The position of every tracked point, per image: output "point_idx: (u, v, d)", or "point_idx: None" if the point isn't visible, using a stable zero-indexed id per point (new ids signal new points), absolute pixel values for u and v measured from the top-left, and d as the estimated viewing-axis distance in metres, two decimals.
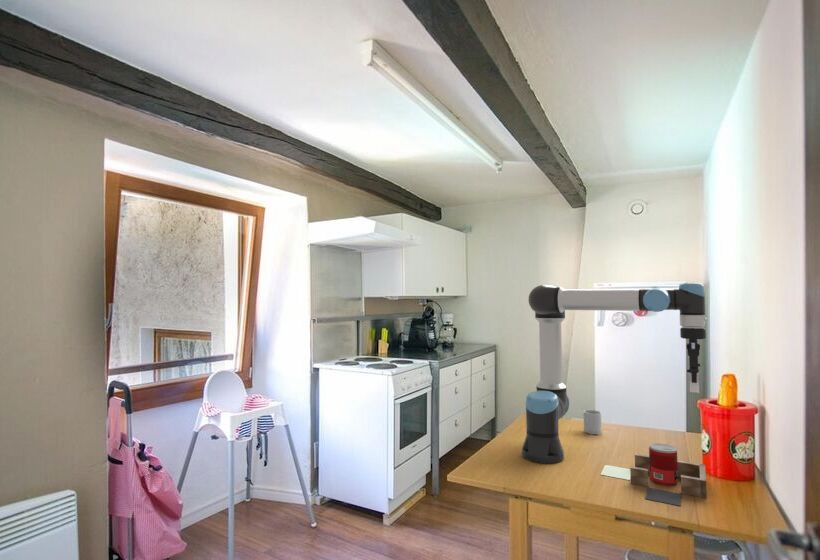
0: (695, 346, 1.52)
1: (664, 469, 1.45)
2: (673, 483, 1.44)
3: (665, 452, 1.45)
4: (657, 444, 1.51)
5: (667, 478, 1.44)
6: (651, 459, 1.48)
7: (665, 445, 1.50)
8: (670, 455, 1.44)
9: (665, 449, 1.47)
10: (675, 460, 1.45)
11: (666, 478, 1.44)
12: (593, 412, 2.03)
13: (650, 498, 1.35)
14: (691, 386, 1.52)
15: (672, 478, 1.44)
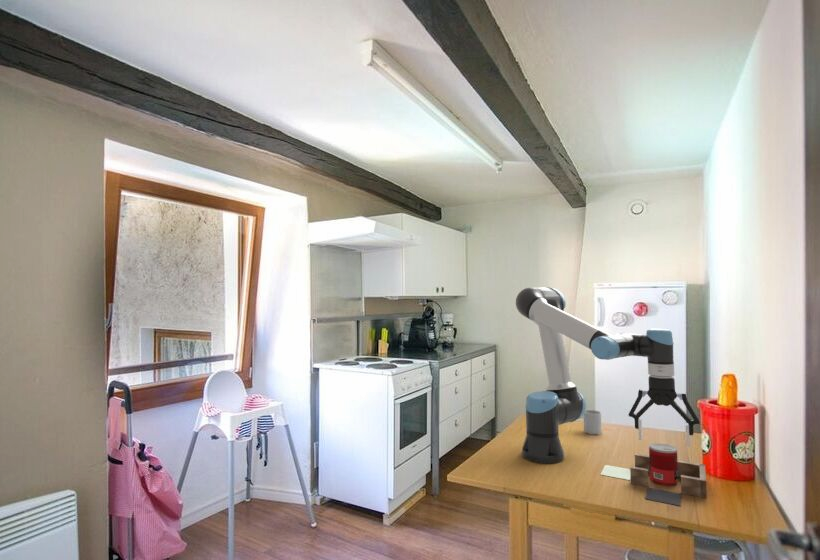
0: (638, 392, 1.52)
1: (664, 469, 1.45)
2: (673, 483, 1.44)
3: (665, 452, 1.45)
4: (657, 444, 1.51)
5: (667, 478, 1.44)
6: (651, 459, 1.48)
7: (665, 445, 1.50)
8: (670, 455, 1.44)
9: (665, 449, 1.47)
10: (675, 460, 1.45)
11: (666, 478, 1.44)
12: (593, 412, 2.03)
13: (650, 498, 1.35)
14: None
15: (672, 478, 1.44)
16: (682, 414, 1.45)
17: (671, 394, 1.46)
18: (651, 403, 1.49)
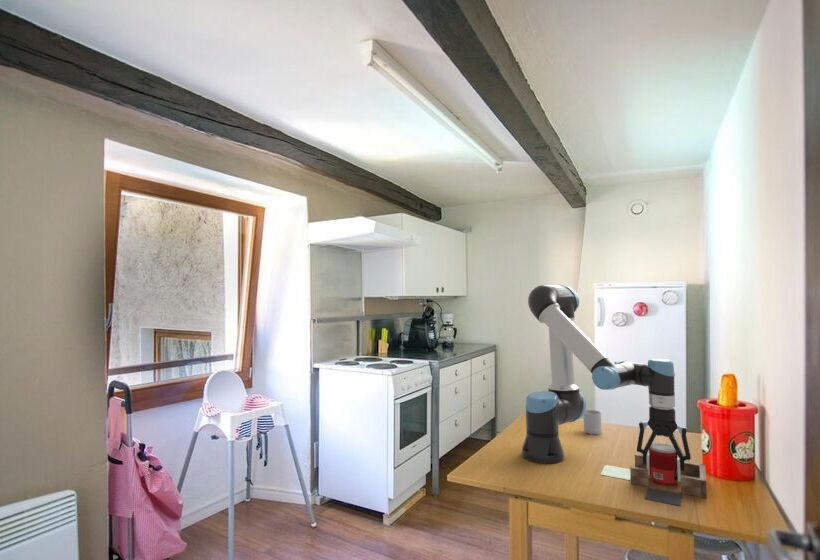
0: None
1: (664, 469, 1.45)
2: (673, 483, 1.44)
3: (665, 452, 1.45)
4: (657, 444, 1.51)
5: (667, 478, 1.44)
6: (651, 459, 1.48)
7: (665, 445, 1.50)
8: (670, 455, 1.44)
9: (665, 449, 1.47)
10: (675, 460, 1.45)
11: (666, 478, 1.44)
12: (593, 412, 2.03)
13: (650, 498, 1.35)
14: None
15: (672, 478, 1.44)
16: (676, 448, 1.45)
17: (672, 425, 1.46)
18: (654, 435, 1.48)
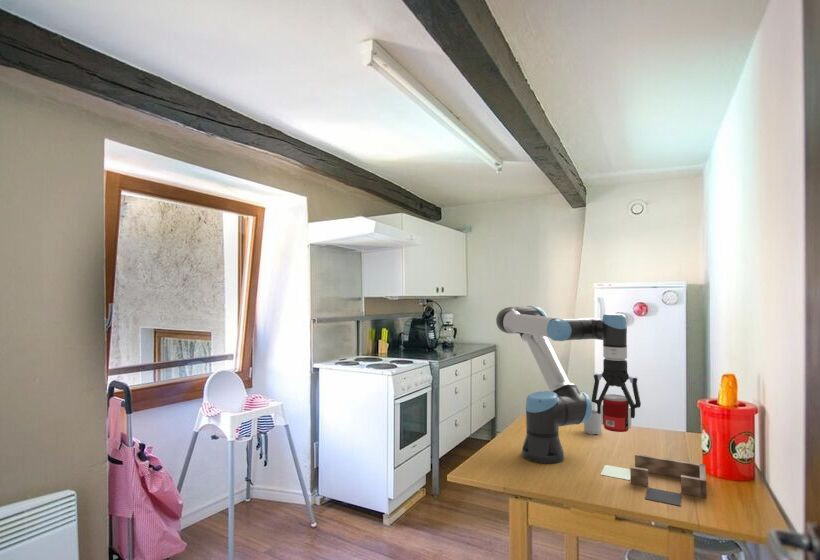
0: None
1: (615, 416, 1.53)
2: (624, 430, 1.52)
3: (617, 400, 1.53)
4: (611, 395, 1.59)
5: (618, 424, 1.52)
6: (604, 408, 1.56)
7: (618, 395, 1.58)
8: (621, 403, 1.52)
9: (617, 398, 1.55)
10: (626, 408, 1.53)
11: (617, 425, 1.52)
12: (593, 412, 2.03)
13: (650, 498, 1.35)
14: None
15: (623, 424, 1.52)
16: (627, 397, 1.53)
17: (624, 375, 1.54)
18: (607, 385, 1.56)
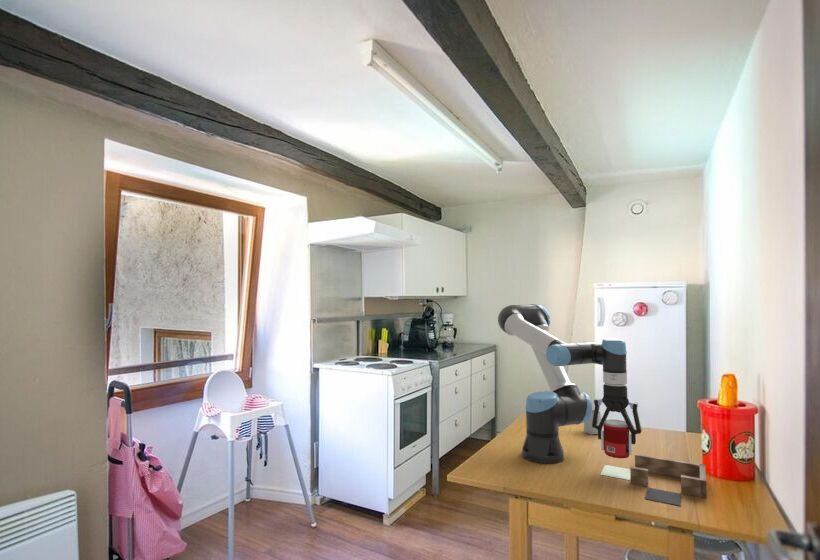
0: None
1: (616, 442, 1.52)
2: (625, 456, 1.52)
3: (617, 426, 1.52)
4: (611, 420, 1.59)
5: (619, 451, 1.52)
6: (605, 434, 1.55)
7: (619, 421, 1.58)
8: (621, 429, 1.52)
9: (618, 424, 1.55)
10: (627, 434, 1.52)
11: (617, 451, 1.52)
12: (593, 412, 2.03)
13: (650, 498, 1.35)
14: None
15: (624, 451, 1.52)
16: (628, 423, 1.53)
17: (624, 401, 1.54)
18: (607, 411, 1.56)
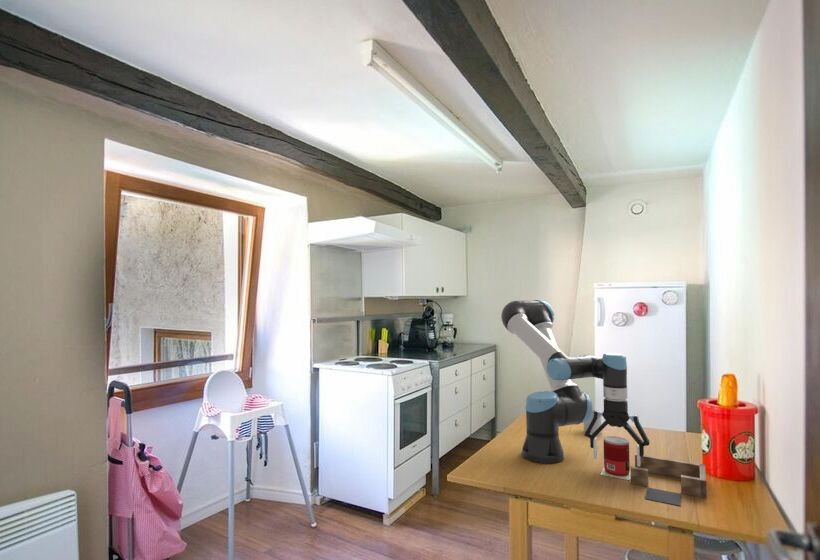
0: (594, 414, 1.59)
1: (616, 460, 1.52)
2: (624, 474, 1.52)
3: (617, 444, 1.52)
4: (611, 437, 1.59)
5: (619, 468, 1.52)
6: (605, 451, 1.55)
7: (619, 438, 1.58)
8: (621, 447, 1.52)
9: (618, 441, 1.55)
10: (627, 452, 1.52)
11: (617, 469, 1.52)
12: (593, 412, 2.03)
13: (650, 498, 1.35)
14: None
15: (624, 468, 1.52)
16: (633, 436, 1.52)
17: (624, 416, 1.54)
18: (605, 424, 1.56)
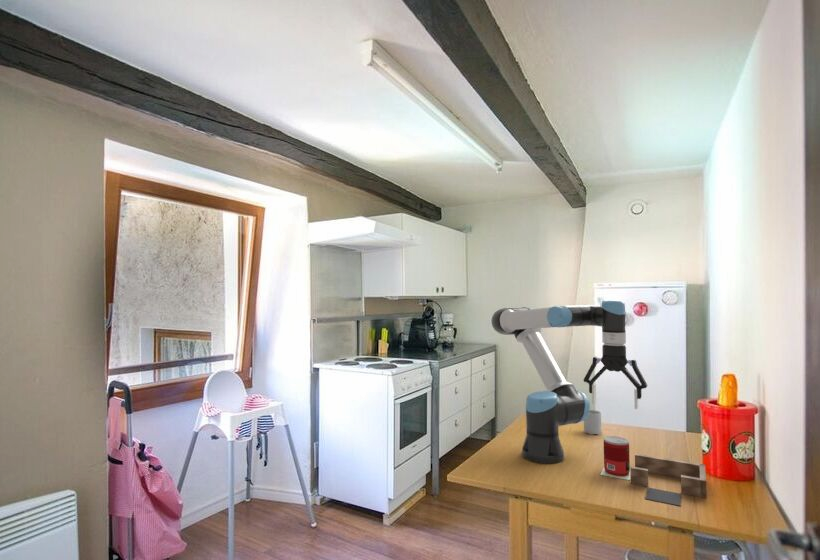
0: None
1: (616, 460, 1.52)
2: (624, 474, 1.52)
3: (617, 444, 1.52)
4: (611, 437, 1.59)
5: (619, 468, 1.52)
6: (605, 451, 1.55)
7: (619, 438, 1.58)
8: (621, 447, 1.52)
9: (618, 441, 1.54)
10: (627, 452, 1.52)
11: (617, 469, 1.52)
12: (593, 412, 2.03)
13: (650, 498, 1.35)
14: None
15: (624, 469, 1.52)
16: (631, 379, 1.55)
17: (622, 361, 1.56)
18: (604, 369, 1.59)
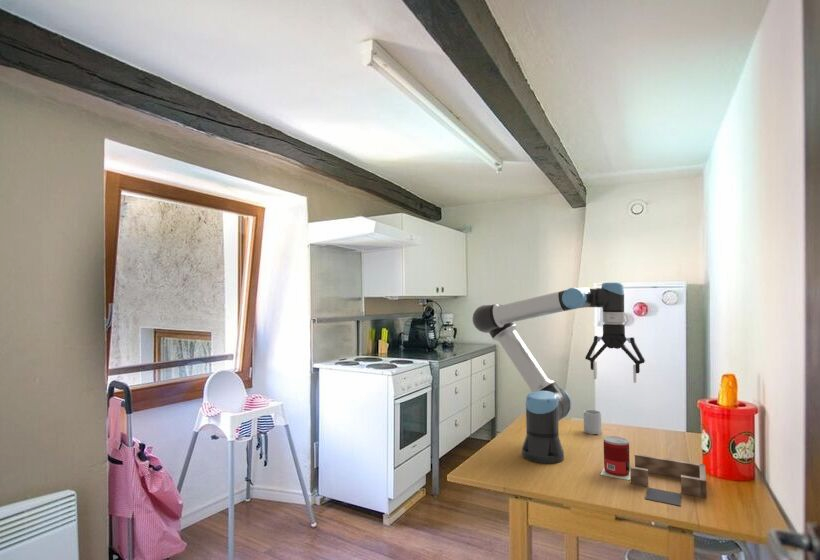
0: (594, 338, 1.73)
1: (616, 460, 1.52)
2: (624, 474, 1.52)
3: (617, 444, 1.52)
4: (611, 437, 1.59)
5: (619, 468, 1.52)
6: (605, 451, 1.55)
7: (619, 438, 1.58)
8: (621, 447, 1.52)
9: (618, 441, 1.54)
10: (627, 452, 1.52)
11: (617, 469, 1.52)
12: (593, 412, 2.03)
13: (650, 498, 1.35)
14: None
15: (623, 469, 1.52)
16: (630, 355, 1.66)
17: (621, 338, 1.68)
18: (604, 347, 1.70)
